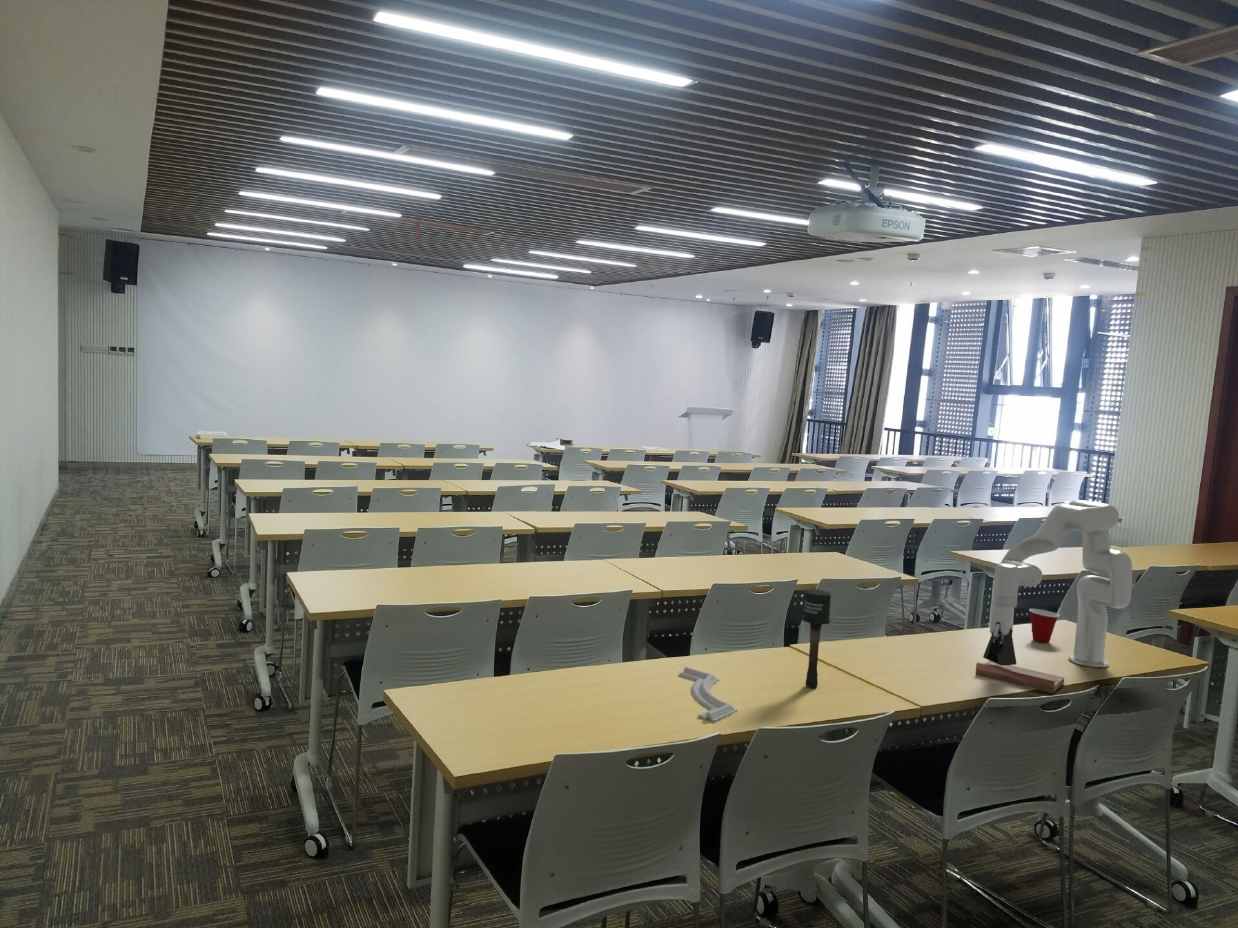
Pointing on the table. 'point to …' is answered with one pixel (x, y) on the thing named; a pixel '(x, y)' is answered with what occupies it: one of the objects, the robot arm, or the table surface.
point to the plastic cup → (1042, 625)
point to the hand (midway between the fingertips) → (1000, 652)
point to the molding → (707, 695)
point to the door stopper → (1002, 657)
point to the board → (1020, 682)
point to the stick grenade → (815, 627)
